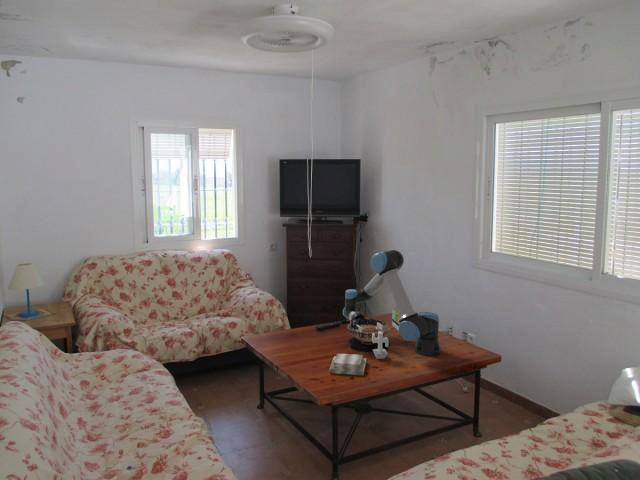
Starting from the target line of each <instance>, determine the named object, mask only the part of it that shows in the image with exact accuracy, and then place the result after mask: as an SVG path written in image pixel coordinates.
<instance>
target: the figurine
mask: <svg viewBox="0 0 640 480" xmlns="http://www.w3.org/2000/svg"><path fill="white" fill-rule="evenodd" d="M383 335H384V332H383V331H382V330H381V331H379V330H378V332H377V337H376V333H374V332H373V333H372V334H371V342H372V343H373V344H377V348H374V349H372V351H373V353H374V356H375V358H376V360H385V359H386V358H387V355H388V351H387V350H386V349H385V348H383V343H385V347H386V348H389V343H390V342H389V337H384V336H383Z"/></svg>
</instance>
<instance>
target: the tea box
mask: <svg viewBox="0 0 640 480" xmlns="http://www.w3.org/2000/svg"><path fill="white" fill-rule="evenodd" d="M391 310H392V312H391V316H392V317H391V319H392V321H391V326H392V327H393V328H395V330H397V332H399V324H400V322H399V319H400V315H399V313H398V311H397V309H396V306H395V305H392V307H391Z"/></svg>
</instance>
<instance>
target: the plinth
mask: <svg viewBox="0 0 640 480" xmlns="http://www.w3.org/2000/svg"><path fill="white" fill-rule="evenodd" d="M366 365H367V358H366V357H363V354H353V353H351V354H350V353H336V356H335V355H334V356H333V358H332V361H331V364H330V366H329V369H328V370H329V371H328V373H329V374H336V375H337V374H339V375H350V374H351V376H352V375H353V376H354V375H355V376H364V374H365V371H366V367H367V366H366Z"/></svg>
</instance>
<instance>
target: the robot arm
mask: <svg viewBox="0 0 640 480" xmlns="http://www.w3.org/2000/svg"><path fill="white" fill-rule="evenodd" d="M404 262H405V260H404V255H403V254H402V252H400V251H399V250H396V249H390V250H385V251H379V252H377V253H374V254H373V256H372V257H371V259H370V268H371V269H372V271H373V272H375V273H376V274H375V275H374V276H373V277H372V278H371V280H370V281H369V282H368V283H367V284H366V285H365V286H364V288H362V289H361V290H356V289H354V288H353V289H352V288H351V289H346V290H345V295H344V297H345V299H344V300H345V301H344V307H343V310H342V315H343V316H344V318H345V319H347V320H349V321H350V323H349V324H350V329H351V330H352V329H353V330H354V331H358V332H359V333H362V332H363V327H362V326H365V325H366V326H369V325H370V326H374V327H377V328H378V329H379V330H381V331H384V325H383V323H382V321H381V320H378V319H374V318H372V317H368V318H365V316H364V315H363V314H362V313H360V312H359V311H358V304H360V303H366V302H369V301H372V300H373V299H374V298H375V294H376V293H377V292H378V291H379V289H381V288H382V286H383V285H385V286H386V287H387V290H388V293H389V294H390V297H391V299H392V302H393V304H394V306H396V309H397V311H398V313H399V315H400V319H399V322H400V324H399V331H398V333H399V335H400V336H401V337H402V338H403V339H404V340H405V341H409V342H412V341H415V345H414V352H415V353H417V354H418V355H422V356H437V355H439V354H441V353H442V352H441V350H442V349H441V345H440V342H439V325H440V324H439V323H440V319H439V315H438V314H437V313H434V312H430V311H419V312H417V311H415V310H414V308H413V306H412V304H411V301H410V299H409V296H408V295H407V292H406V290H405V288H404V285H403V284H402V281H401V279H400V276H399V274H398V273H399V270H401V268H403V265H404Z"/></svg>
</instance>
